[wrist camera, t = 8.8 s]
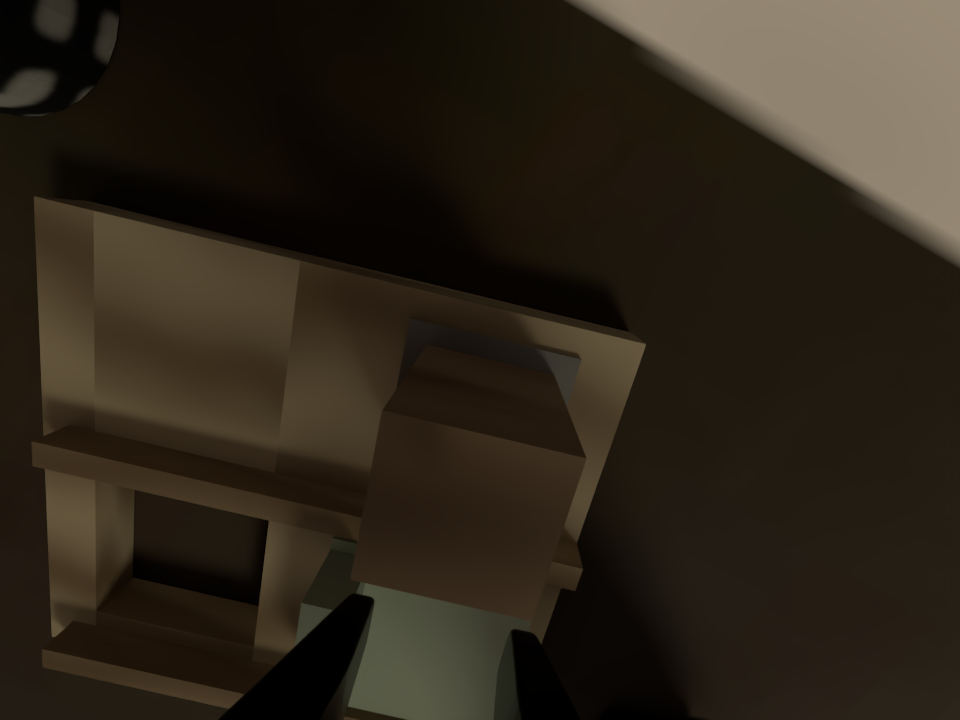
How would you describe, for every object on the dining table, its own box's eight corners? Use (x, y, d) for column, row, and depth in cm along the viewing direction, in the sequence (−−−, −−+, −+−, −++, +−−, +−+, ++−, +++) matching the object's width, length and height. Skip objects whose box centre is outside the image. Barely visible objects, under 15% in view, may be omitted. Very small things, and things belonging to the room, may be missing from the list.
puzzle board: (507, 694, 22) (508, 774, 19) (91, 601, 22) (18, 665, 18) (629, 332, 17) (660, 354, 14) (88, 200, 17) (-14, 192, 13)
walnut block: (521, 486, 17) (532, 621, 11) (403, 459, 16) (350, 579, 11) (554, 374, 15) (586, 458, 10) (427, 344, 15) (381, 410, 9)
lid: (492, 714, 20) (491, 813, 16) (315, 674, 19) (276, 766, 16) (541, 567, 17) (550, 646, 14) (341, 521, 17) (303, 590, 14)
